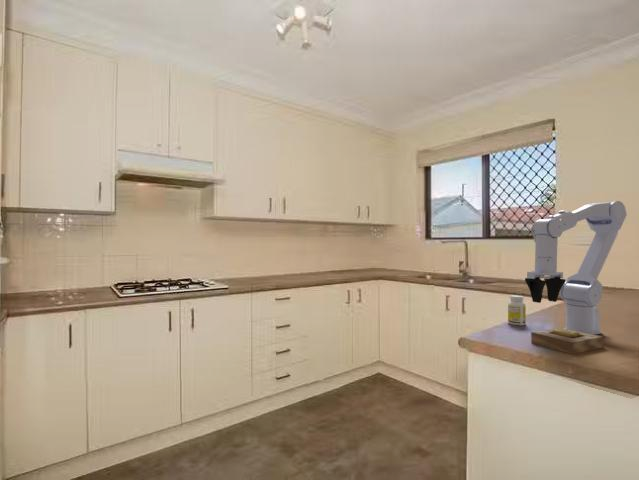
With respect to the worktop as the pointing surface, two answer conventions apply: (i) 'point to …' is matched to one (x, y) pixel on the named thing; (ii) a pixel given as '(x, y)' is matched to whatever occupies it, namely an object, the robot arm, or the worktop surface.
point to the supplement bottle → (516, 310)
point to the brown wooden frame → (567, 341)
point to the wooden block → (566, 333)
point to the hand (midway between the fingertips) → (544, 301)
